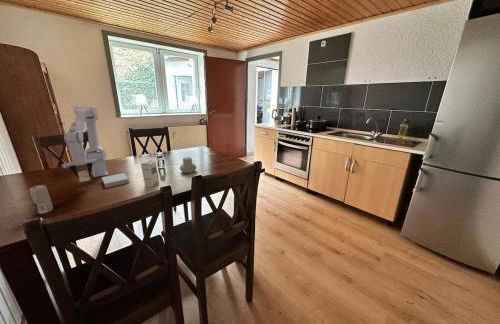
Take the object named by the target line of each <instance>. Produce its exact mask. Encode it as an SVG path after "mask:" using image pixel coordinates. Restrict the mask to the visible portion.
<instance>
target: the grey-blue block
mask: <svg viewBox="0 0 500 324" xmlns="http://www.w3.org/2000/svg"><path fill="white" fill-rule="evenodd" d="M101 180H102V182H103V185H104V187H105V189H106V188H107V189H108V188H110V187H115V186H119V185H125V184H127V183H128V184H129V183H130V181H129V178H128V176H127V175H126V173H125V172H123V173H118V174H112V175H109V176H108V175H106V176H101Z"/></svg>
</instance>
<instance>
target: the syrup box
mask: <svg viewBox="0 0 500 324" xmlns="http://www.w3.org/2000/svg"><path fill="white" fill-rule="evenodd" d="M140 166H141V167H140V168H141V172H142V177H143V182H144V186H145V187H150V188H154V187H156V186H157V185H158V184H160V178H159V173H158V165H157V161H156V160H153V159H152V160H146V161H143V162H141V163H140Z"/></svg>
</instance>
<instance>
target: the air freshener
mask: <svg viewBox="0 0 500 324" xmlns="http://www.w3.org/2000/svg"><path fill="white" fill-rule="evenodd" d="M196 169H197V166H196V164H195V163H194V162H193V158H192V157H191V156H185V157H183V158H182V164H181V165H180V166H179V170H180V171H181V172H182V173H185V174H192V173H193V172H195V171H196Z"/></svg>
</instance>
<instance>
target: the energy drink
mask: <svg viewBox="0 0 500 324" xmlns="http://www.w3.org/2000/svg"><path fill="white" fill-rule="evenodd" d="M29 194H30V197H31V200H32V202H33V205H34V208H35V211H36V212H37V214H39V215H42V214H43V215H45V214H47V213H48V214H49V213H50V212H51V211H54V210H53V209H54V206H53V203H52V199H51V196H50V194H49V191H48V188H47V186H46V185H45V184H38V185H33V186H30V187H29Z"/></svg>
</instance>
